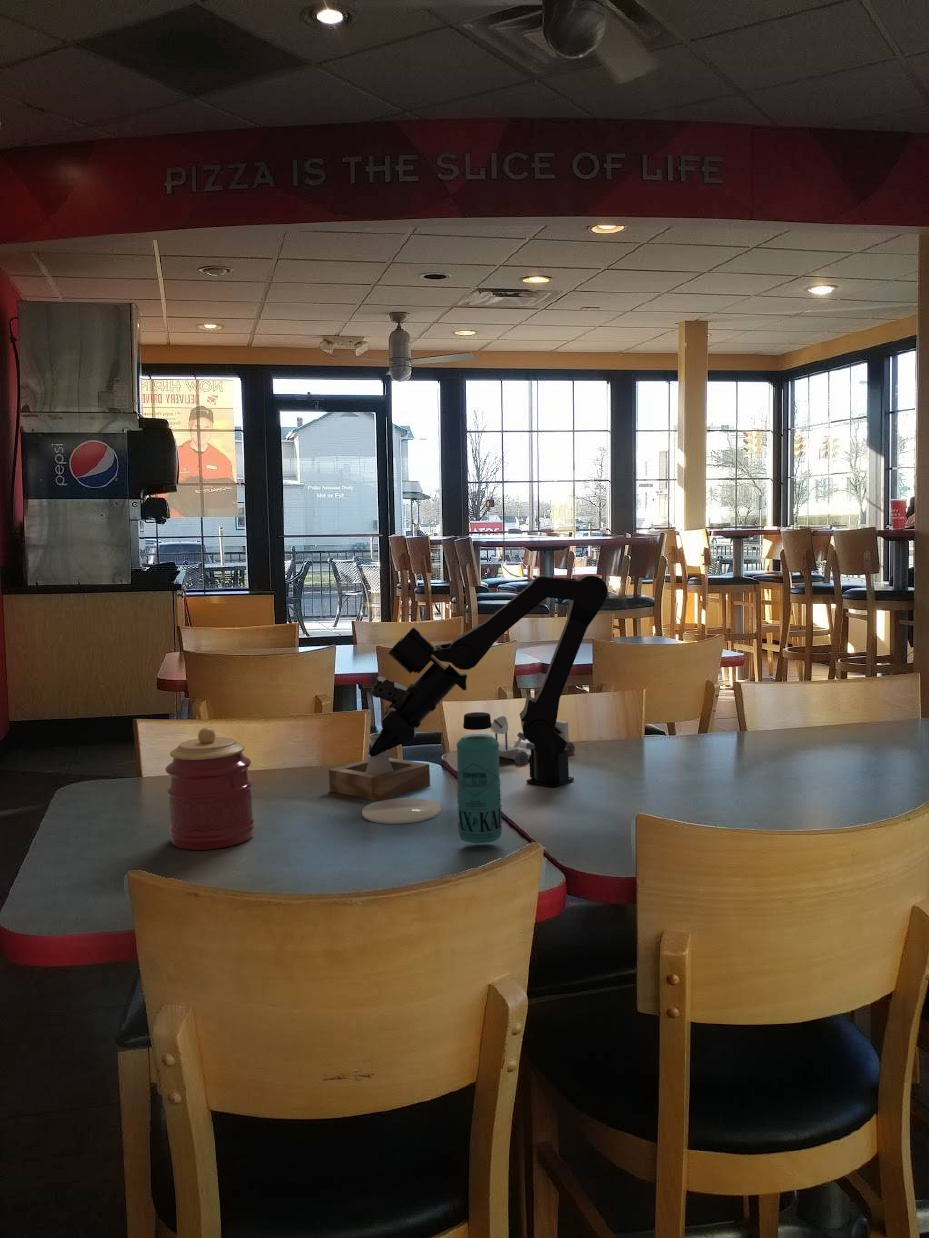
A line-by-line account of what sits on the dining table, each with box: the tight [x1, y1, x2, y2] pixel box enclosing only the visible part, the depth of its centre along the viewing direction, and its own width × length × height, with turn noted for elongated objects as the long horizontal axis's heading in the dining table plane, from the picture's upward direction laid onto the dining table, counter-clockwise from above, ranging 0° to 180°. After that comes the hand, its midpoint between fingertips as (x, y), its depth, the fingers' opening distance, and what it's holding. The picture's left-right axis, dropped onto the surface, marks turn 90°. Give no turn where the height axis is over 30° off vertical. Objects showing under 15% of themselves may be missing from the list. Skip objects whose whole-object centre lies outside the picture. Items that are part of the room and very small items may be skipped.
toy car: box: [489, 715, 576, 766], centre depth 213 cm, size 18×10×12 cm
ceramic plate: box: [361, 797, 441, 825], centre depth 173 cm, size 13×13×1 cm
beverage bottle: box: [456, 711, 503, 844], centre depth 152 cm, size 6×7×20 cm
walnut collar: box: [328, 757, 431, 802], centre depth 190 cm, size 13×13×4 cm
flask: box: [365, 732, 393, 775], centre depth 190 cm, size 7×7×10 cm
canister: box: [165, 727, 255, 851], centre depth 162 cm, size 13×13×18 cm
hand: (370, 752), depth 190 cm, fingers closed on flask, 3 cm apart
